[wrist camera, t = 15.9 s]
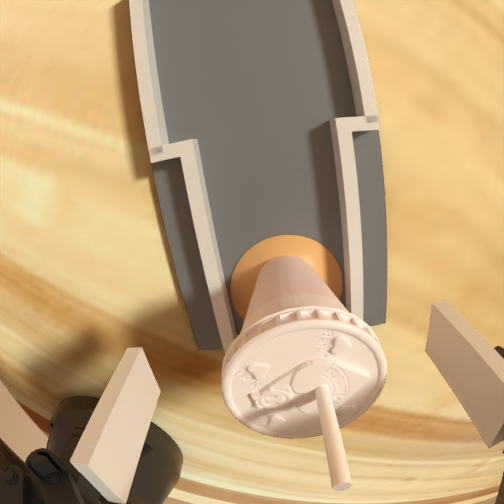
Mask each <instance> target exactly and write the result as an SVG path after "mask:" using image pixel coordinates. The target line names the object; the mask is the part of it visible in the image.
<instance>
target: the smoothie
mask: <svg viewBox="0 0 504 504" xmlns="http://www.w3.org/2000/svg"><path fill="white" fill-rule="evenodd" d="M386 376H387V362H386V357H385V355H384V352H383V350H382V348H381V346H380V342H379V339H378V338H377V336H376V335H375V333H374V332H373V330H372V328H371V327H370V326H369V325H368V324H366V323H365V322H364V321H363V320H361V319H360V318H359V317H357V316H356V315H354V314H351V313H349V311H348V310H347V309H346V308H345V307H344V306H343V304H342V303H341V302H340V301H339V300H338V298H337V297H336V296H335V295H334V293H333V292H332V291H331V290H330V288H329V287H328V286H327V285H326V283H325V282H324V281H323V280H322V279H321V277H320V276H319V275H318V274H317V272H316V271H315V270H314V269H313V268H312V266H311V265H310V264H309V263H308V262H307V261H306V260H304V259H303V258H301V257H298V256H295V255H280V256H277V257H274V258H272V259H271V260H269V261H268V262H267V263H266V264H265V265H264V266H263V267H262V269H261V270H260V272H259V275H258V278H257V281H256V285H255V288H254V291H253V294H252V298H251V301H250V304H249V307H248V311H247V314H246V317H245V320H244V323H243V327H242V330H241V332H240V335H239V336H238V337H237V338H236V339H235V340H234V341H233V342H232V343H231V345H230V347H229V349H228V351H227V353H226V355H225V357H224V359H223V365H222V374H221V377H222V386H221V389H222V396H223V399H224V402H225V404H226V406H227V408H228V410H229V411H230V412H231V414H232V415H233V416H234V417H235V418H236V419H237V420H238V421H239V422H241V423H242V424H244V425H245V426H247V427H248V428H250V429H252V430H254V431H257V432H259V433H262V434H265V435H269V436H273V437H278V438H288V439H297V438H309V437H315V436H320V435H323V438H324V443H325V449H326V454H327V460H328V466H329V471H330V477H331V483H332V489H333V490H334V491H342V490H346V489H348V488H350V487H351V486H352V482H351V477H350V473H349V468H348V464H347V459H346V455H345V451H344V446H343V442H342V438H341V433H340V428H342V427H344V426H346V425H348V424H349V423H351V422H353V421H355V420H356V419H357V418H358V417H360V416H361V415H362V414H363V413H365V412H366V411H367V410H368V409H369V408H370V407H371V406H372V404H373V403H374V402H375V401H376V399H377V398H378V396H379V395H380V393H381V391H382V389H383V386H384V384H385V380H386Z"/></svg>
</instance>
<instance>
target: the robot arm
mask: <svg viewBox="0 0 504 504" xmlns="http://www.w3.org/2000/svg"><path fill="white" fill-rule="evenodd" d="M425 352H426V353H427V354H428V356H429V357H430V359H431V360H432V361H433V363H434V364H435V366H436V367H437V369H438V370H439V371H440V373H441V374H442V376H443V377H444V379H445V380H446V382H447V383H448V385H449V386H450V388H451V389H452V391H453V392H454V394H455V395H456V397H457V398H458V400H459V401H460V403H461V404H462V406H463V408H464V409H465V411H466V412H467V414H468V415H469V417H470V419H471V420H472V422H473V423H474V425H475V427H476V428H477V430H478V431H479V433H480V435H481V436H482V438H483V440H484V441H485V443H486V445H487V447H488V448H490V447H492V446H494V445H496V444H498V443H500V442H501V441H503V440H504V348H502V347H500V346H497V347H495V348H493V347H492V346H491V345H490V344H489V343H488V342H487V341H486V339H485V338H484V337H483V336H482V335H481V334H480V333H479V332H478V331H477V330H476V329H475V328H474V327H473V326H472V325H471V324H470V323H469V322H468V321H467V320H466V319H465V318H464V317H463V316H462V315H461V314H460V313H459V312H458V311H457V310H456V309H455V308H454V307H453V306H451V305H450V304H449V303H448V302H447V301H446V300H442V301H438V302H434V303H432V308H431V316H430V323H429V330H428V337H427V343H426V349H425ZM160 392H161V391H160V388H159V386H158V384H157V382H156V379H155V377H154V375H153V372H152V370H151V368H150V365H149V363H148V361H147V358H146V356H145V353H144V351H143V348H142V347H136V348H127V350H126V351H125V353H124V355H123V357H122V359H121V360H120V362H119V364H118V366H117V368H116V370H115V372H114V373H113V375H112V377H111V379H110V381H109V383H108V385H107V387H106V389H105V391H104V392H103V394H102V396H101V398H100V399H96V398H91V397H72V398H68V399H66V400H64V401H62V402H61V403H60V405H59V406H58V408H57V409H56V411H55V413H54V414H53V416H52V418H51V421H50V425H49V432H50V436H49V439H48V443H47V448H46V449H44V448H41V449H37V450H35V451H33V452H31V454H30V455H29V456H28V457H27V459H26V461H25V463H24V462H23V461H22V460H21V459H20V458H19V457H18V456H17V455H16V454H15V453H14V452H13V451H12V450H11V449H10V448H9V447H8V446H7V445H6V444H5V442H4V441H3V440H2V439H1V438H0V504H163V502H164V501H165V499H166V498H167V496H168V495H169V494H170V492H171V491H172V489H173V488H174V486H175V485H176V483H177V482H178V480H179V477H180V473H181V469H182V464H183V456H182V453H181V450H180V448H179V447H178V445H177V444H176V443H175V441H174V440H173V439H172V438H171V437H170V436H169V435H168V434H167V433H166V432H164V431H163V430H162V429H161V428H159V427H158V426H157V425H155V424H154V423H152V422H151V420H152V417H153V413H154V410H155V407H156V404H157V401H158V398H159V395H160ZM503 453H504V451H503ZM495 504H504V473H503V477H502V481H501V485H500V488H499V492H498V495H497V499H496V502H495Z"/></svg>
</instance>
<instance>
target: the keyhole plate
mask: <svg viewBox="0 0 504 504" xmlns="http://www.w3.org/2000/svg"><path fill="white" fill-rule="evenodd" d="M129 6H130V19H131V30H132V40H133V49H134V58H135V66H136V74H137V81H138V89H139V96H140V102H141V109H142V115H143V121H144V127H145V133H146V139H147V144H148V150H149V155H150V161H151V164H152V169H153V174H154V179H155V184H156V189H157V194H158V198H159V203H160V208H161V212H162V217H163V221H164V225H165V230H166V234H167V238H168V242H169V246H170V250H171V254H172V258H173V262H174V266H175V270H176V274H177V278H178V281H179V285H180V289H181V292H182V296H183V300H184V303H185V307H186V310H187V314H188V317H189V321H190V324H191V327H192V331H193V334H194V337H195V341H196V344H197V347H198V350H209V349H220V348H223V349H224V353H225V355H226V353H227V351H228V349H229V347H230V345H231V343H232V342H233V341H234V340H235V339H236V338H237V337H238V336H239V335H240V332H241V330H242V327H243V323H244V320H245V317H246V314H247V311H248V307H249V304H250V301H251V298H252V294H253V291H254V288H255V285H256V281H257V278H258V275H259V272H260V270H261V269H262V267H263V266H264V265H265V264H266V263H267V262H268V261H269V260H271V259H272V258H274V257H277V256H280V255H295V256H298V257H301V258H303V259H304V260H306V261H307V262H308V263H309V264H310V265H311V266H312V268H313V269H314V270H315V271H316V272H317V274H318V275H319V276H320V277H321V279H322V280H323V281H324V282H325V283H326V285H327V286H328V287H329V288H330V290H331V291H332V292H333V293H334V295H335V296H336V297H337V298H338V300H339V301H340V302H341V303H342V304H343V306H344V307H345V308H346V309H347V310H348V311H349V313H351V314H354V315H356V316H357V317H359V318H360V319H361V320H363V321H364V322H365V323H366V324H368V325H369V326H374V325H379V324H383V323H386V303H387V223H386V203H385V188H384V175H383V164H382V154H381V145H380V137H379V130H380V125H379V117H378V111H377V104H376V98H375V92H374V87H373V81H372V76H371V71H370V66H369V61H368V57H367V52H366V48H365V43H364V39H363V35H362V31H361V27H360V23H359V19H358V16H357V12H356V9H355V5H354V2H353V0H129Z"/></svg>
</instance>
